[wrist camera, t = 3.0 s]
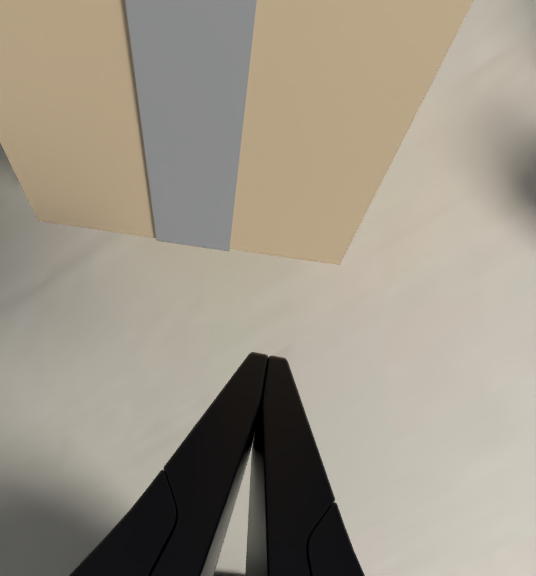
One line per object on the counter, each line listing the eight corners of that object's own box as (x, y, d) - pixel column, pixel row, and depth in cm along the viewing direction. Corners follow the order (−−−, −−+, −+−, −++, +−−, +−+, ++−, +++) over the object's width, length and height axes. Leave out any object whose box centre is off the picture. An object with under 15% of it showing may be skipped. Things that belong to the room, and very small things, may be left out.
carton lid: (338, 244, 14) (339, 267, 14) (48, 200, 14) (37, 223, 13) (534, -171, 6) (556, -155, 6) (-189, -354, 5) (-248, -355, 5)
